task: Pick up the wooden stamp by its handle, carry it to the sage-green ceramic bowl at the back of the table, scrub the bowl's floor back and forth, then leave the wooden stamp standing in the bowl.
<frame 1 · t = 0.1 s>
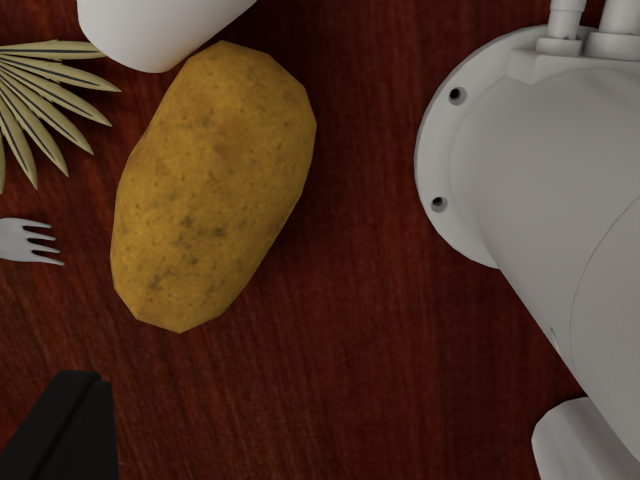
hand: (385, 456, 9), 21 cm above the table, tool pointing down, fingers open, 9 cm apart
potato: (215, 182, 30), on the table
mug: (85, 20, 24), point 3 cm above the table, touching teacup
cup: (576, 429, 36), on the table
hand fan: (22, 92, 28), on the table
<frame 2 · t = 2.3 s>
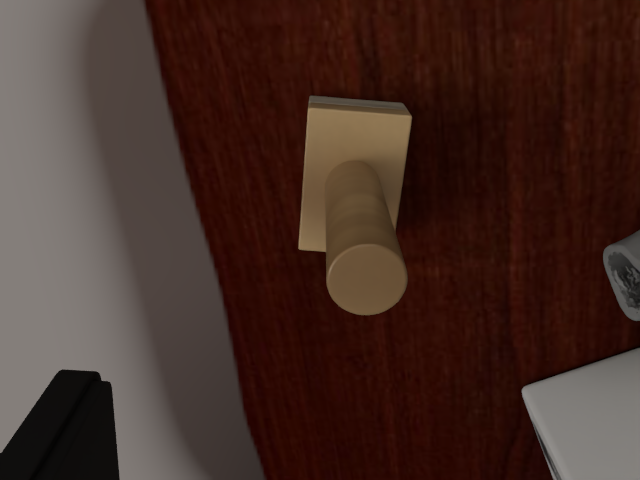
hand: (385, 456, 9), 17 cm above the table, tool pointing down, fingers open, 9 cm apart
container: (604, 411, 31), on the table
wooden stamp: (349, 167, 25), on the table
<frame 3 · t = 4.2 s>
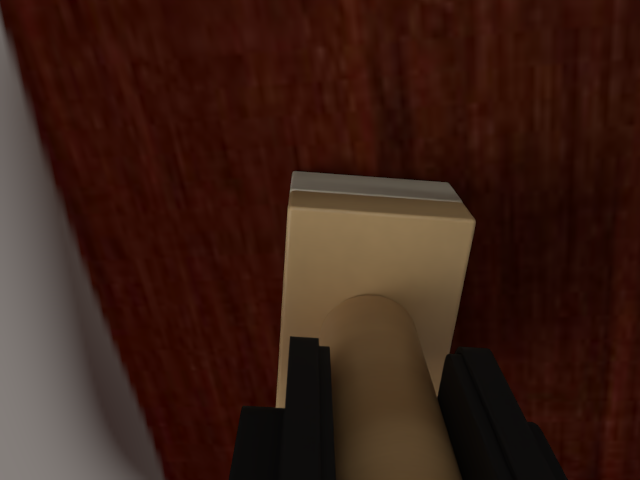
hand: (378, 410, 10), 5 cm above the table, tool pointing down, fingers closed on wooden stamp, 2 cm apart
wooden stamp: (358, 281, 15), on the table, touching gripper
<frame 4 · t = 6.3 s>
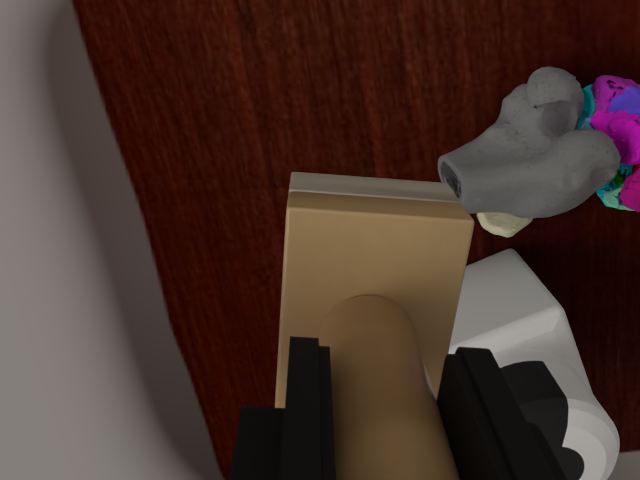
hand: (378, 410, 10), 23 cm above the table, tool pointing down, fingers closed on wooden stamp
container: (472, 315, 36), on the table
wooden stamp: (357, 281, 15), point 18 cm above the table, touching gripper
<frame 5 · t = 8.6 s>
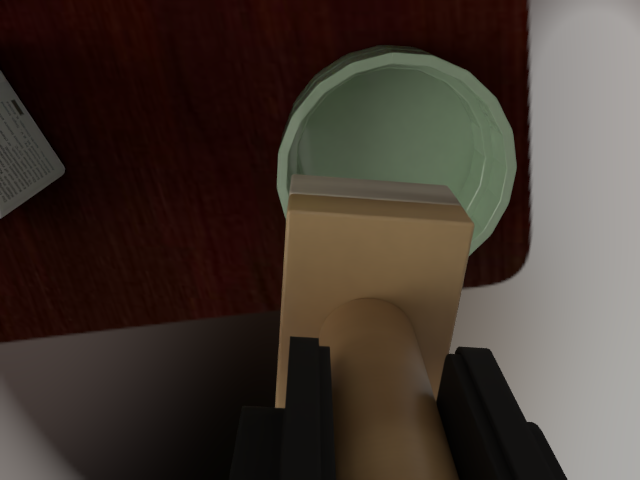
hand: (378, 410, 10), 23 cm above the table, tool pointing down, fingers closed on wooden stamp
wooden stamp: (357, 283, 15), point 17 cm above the table, touching gripper
bowl: (384, 152, 32), on the table
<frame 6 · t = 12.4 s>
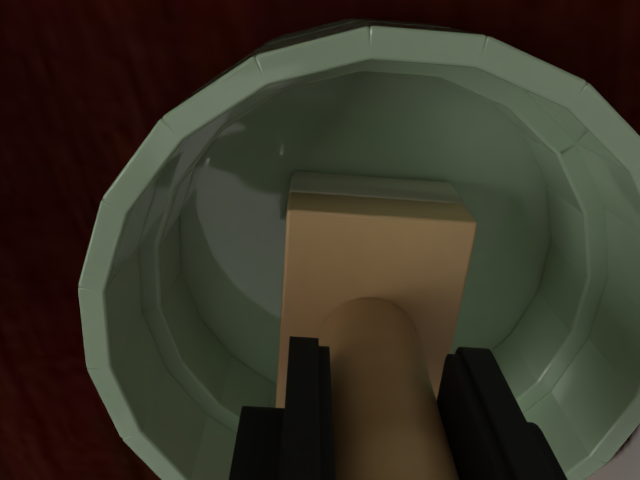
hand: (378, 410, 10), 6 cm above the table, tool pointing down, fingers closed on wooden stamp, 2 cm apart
wooden stamp: (358, 281, 15), point 1 cm above the table, touching gripper
bowl: (362, 244, 15), on the table
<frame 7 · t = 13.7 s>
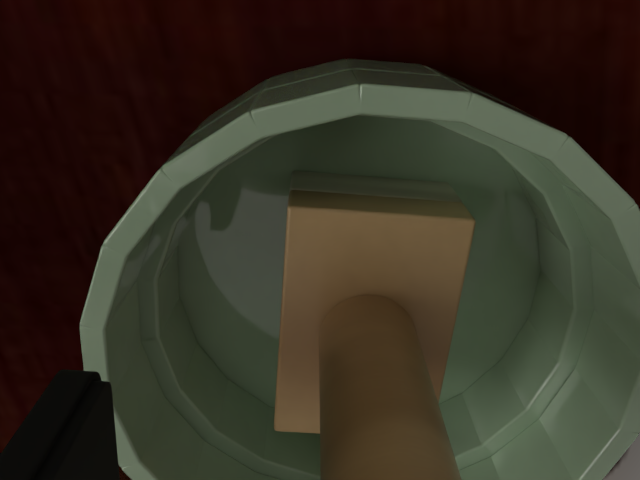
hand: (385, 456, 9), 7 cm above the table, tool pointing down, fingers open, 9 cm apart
wooden stamp: (358, 281, 15), point 1 cm above the table, touching bowl
bowl: (356, 272, 16), on the table
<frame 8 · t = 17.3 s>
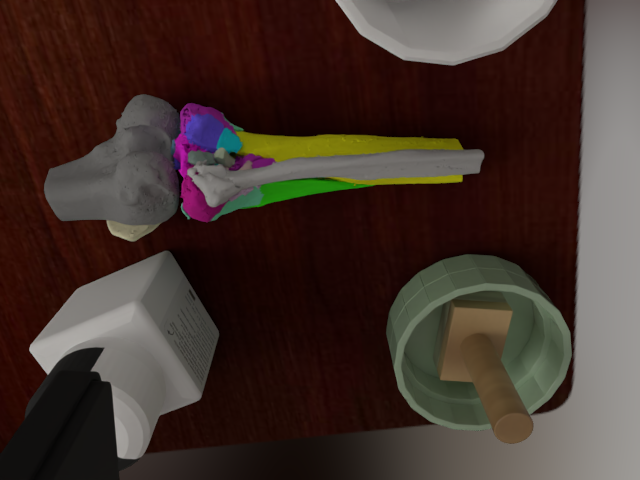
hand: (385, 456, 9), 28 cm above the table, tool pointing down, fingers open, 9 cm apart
container: (151, 309, 41), on the table
wooden stamp: (465, 325, 41), point 1 cm above the table, touching bowl
bowl: (463, 321, 41), on the table
knee model: (269, 160, 36), on the table
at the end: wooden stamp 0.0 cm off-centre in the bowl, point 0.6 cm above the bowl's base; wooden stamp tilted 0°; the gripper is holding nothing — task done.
